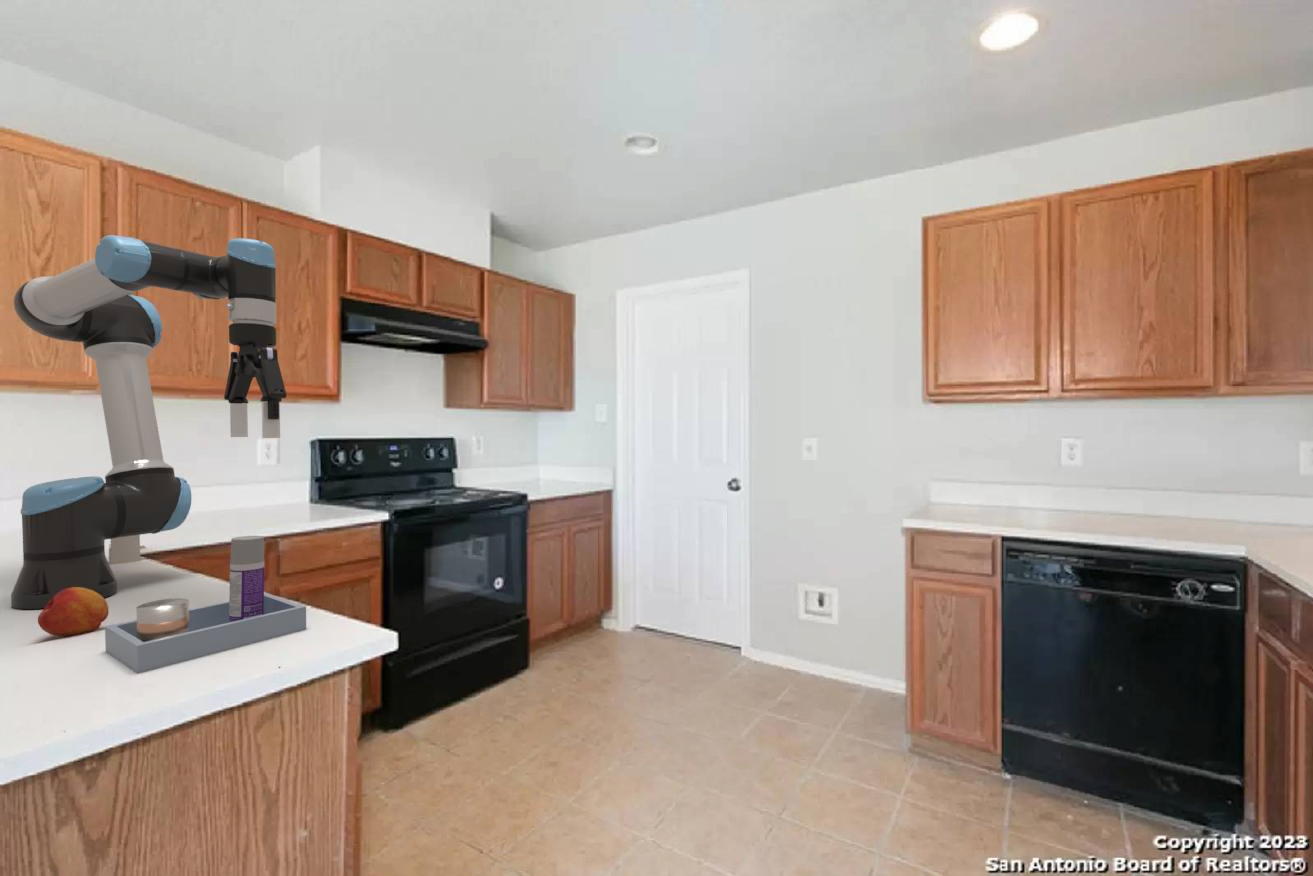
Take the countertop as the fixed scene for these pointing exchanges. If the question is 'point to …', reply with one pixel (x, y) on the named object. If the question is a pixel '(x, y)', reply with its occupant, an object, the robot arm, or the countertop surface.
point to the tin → (162, 619)
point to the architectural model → (125, 549)
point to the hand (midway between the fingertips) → (254, 437)
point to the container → (246, 578)
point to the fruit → (73, 612)
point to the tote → (204, 634)
